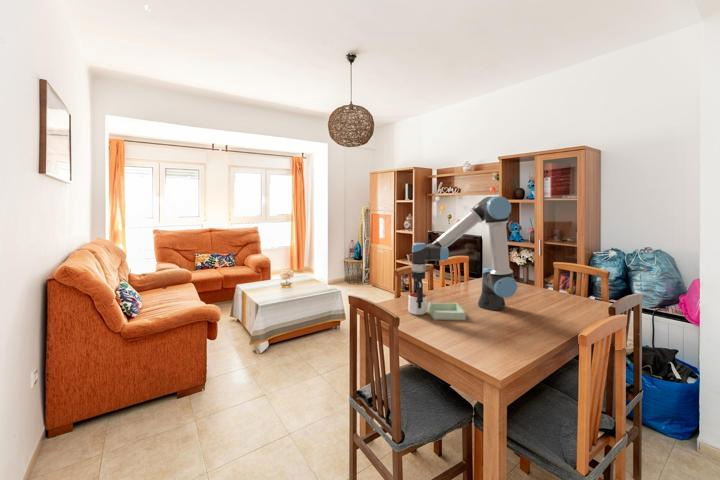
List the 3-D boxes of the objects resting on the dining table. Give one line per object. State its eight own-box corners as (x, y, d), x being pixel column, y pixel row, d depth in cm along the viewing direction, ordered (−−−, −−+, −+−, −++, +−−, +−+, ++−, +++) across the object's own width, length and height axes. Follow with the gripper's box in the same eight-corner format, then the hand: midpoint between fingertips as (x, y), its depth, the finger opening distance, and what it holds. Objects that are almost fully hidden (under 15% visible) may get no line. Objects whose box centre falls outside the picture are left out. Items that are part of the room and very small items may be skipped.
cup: (426, 316, 176) (426, 298, 175) (407, 314, 178) (408, 297, 177) (426, 310, 186) (427, 293, 184) (408, 309, 188) (409, 292, 186)
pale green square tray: (456, 309, 187) (456, 302, 186) (465, 320, 171) (465, 311, 170) (427, 309, 187) (427, 302, 186) (433, 319, 171) (434, 311, 170)
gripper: (408, 267, 190) (407, 304, 193) (414, 275, 168) (413, 317, 170) (421, 267, 190) (420, 304, 193) (429, 275, 168) (428, 317, 170)
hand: (417, 310), depth 182 cm, fingers closed on cup, 10 cm apart
